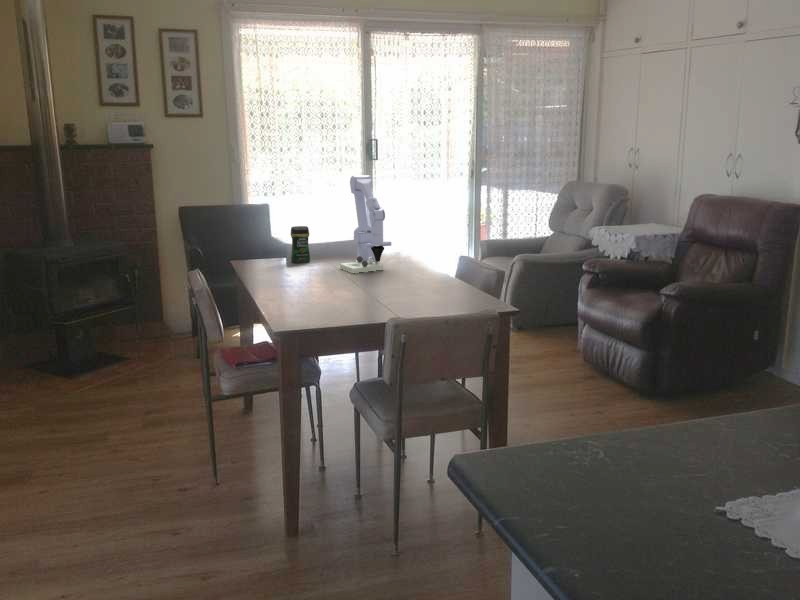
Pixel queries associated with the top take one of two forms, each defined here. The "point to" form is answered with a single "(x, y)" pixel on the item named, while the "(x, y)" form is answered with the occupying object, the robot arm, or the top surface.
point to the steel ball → (370, 260)
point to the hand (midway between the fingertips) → (377, 261)
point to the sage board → (360, 267)
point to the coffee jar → (300, 244)
